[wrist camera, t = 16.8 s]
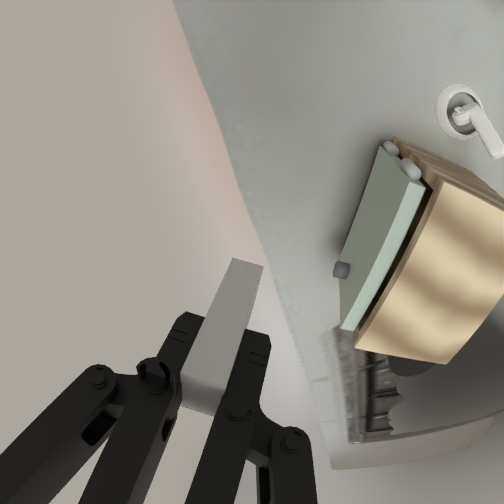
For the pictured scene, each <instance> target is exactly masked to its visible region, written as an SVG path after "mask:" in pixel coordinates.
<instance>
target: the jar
mask: <svg viewBox="0 0 504 504" xmlns="http://www.w3.org/2000/svg"><path fill="white" fill-rule="evenodd" d="M388 362H389V368H390V370H391V371H392V372H393V373H394V374H396V375H399V376H414V375H418V374H421V373H423V372H425V371H427V370H429V369H431V368H432V367H433V366H434V365H435V364H436V363H433V362H427V361H421V360H415V359H409V358H404V357H398V356H393V355H388Z"/></svg>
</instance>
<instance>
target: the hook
mask: <svg viewBox="0 0 504 504" xmlns="http://www.w3.org/2000/svg"><path fill="white" fill-rule="evenodd" d="M460 92H465V93H468V94H470V95H472V96H473V97H474V98H475V99H476V101H477V102H478V104H477V103H469V104H466V105H464V106H463V107H461V108H460V107H459V106H458V107H456V108H454V110H455V111H454V112H453V113H452V117H453V120H454V122H455V123H456V124H457V125H459V126H461V125H465V124H467V123H470V122H471V123H472V125H473V127H474V128H475V132H473V133H472V134H469V135H463V134H460V133H458V132H457V131H456V130H454V128H453V127H452V126H451V124H450V122H449V120H448V116H447V105H448V102H449V100H450V99H451V97H452V96H453V95H455V94H456V93H460ZM436 115H437V119H438V122H439V124H440V126H441V127H442V129H443V130H444V131H445V132H446V133H447V134H448V135H449V136H450V137H452V138H454V139H457V140H468V139H471V138H473V137H475V136H476V135H477V134H479V136H480V138H481V140H482V142H483V143H484V145H485V147H486V149H487V151H488V153H489V155H490V156H491V157H492V159H495V160H497V159H500V158H502V157H503V156H504V144H503V143H502V141H501V139H500V137H499V135H498V134H497V132H496V130H495V129H494V127H493V125H492V124H491V122H490V120H489V119H488V117H487V116H486V114H485V113H484V109H483V106H482V103H481V101H480V99H479V98H478V96H477V95H476V94H475V93H474V92H473V91H472V90H471V89H470V88H468V87H466V86H464V85H461V84H451V85H449V86H447V87H445V88H444V89H443V90H442V91H441V92H440V94H439V96H438V98H437V101H436Z"/></svg>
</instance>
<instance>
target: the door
mask: <svg viewBox="0 0 504 504" xmlns="http://www.w3.org/2000/svg"><path fill="white" fill-rule="evenodd" d="M398 154H399V149H398V148H397V147H396V146H395V145H394V144H393V143H392V142H391V141H385V142H384V144H383V147H382V146H379V149H378V152H377V156H376V159H375V162H374V165H373V168H372V171H371V174H370V177H369V180H368V183H367V186H366V188H365V191H364V194H363V197H362V200H361V203H360V205H359V208H358V211H357V214H356V216H355V219H354V222H353V224H352V227H351V229H350V232H349V235H348V237H347V240H346V242H345V245H344V247H343V250H342V252H341V255H340V257H339V260H338V261H337V262H336V264H335V267H334V271H333V277H337V278H339V285H340V328H341V329H346V330H350V331H354V330H355V328H356V327H357V325H358V323H359V322H360V320H361V318H362V317H363V315H364V313H365V312H366V310H367V308H368V306H369V305H370V303H371V301H372V299H373V298H374V296H375V294H376V292H377V290H378V288H379V287H380V285H381V283H382V281H383V279H384V277H385V275H386V273H387V272H388V270H389V268H390V266H391V264H392V262H393V260H394V258H395V256H396V254H397V252H398V250H399V248H400V246H401V243H402V241H403V239H404V237H405V235H406V233H407V231H408V228H409V226H410V224H411V222H412V220H413V217H414V215H415V213H416V210H417V208H418V206H419V203H420V201H421V199H422V196H423V194H424V191H425V189H426V188H425V187H424V185H423V184H422V183H421V182H420V181H419V180H418V179H420V177H421V171H420V169H419V168H418V167H417V166H416V165H415V164H414V163H413V162H412V161H411V160H410V159H408V158H404V159H402V160H400V159H399V157H398V156H397V155H398Z"/></svg>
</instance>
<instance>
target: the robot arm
mask: <svg viewBox="0 0 504 504" xmlns="http://www.w3.org/2000/svg"><path fill="white" fill-rule="evenodd" d="M262 270H263V266H260V265H257V264H253V263H250V262H246V261H242V260H238V259H235V258H232V261H231V263H230V265H229V267H228V269H227V272H226V274H225V276H224V278H223V280H222V282H221V284H220V287H219V289H218V291H217V293H216V295H215V297H214V299H213V302H212V304H211V306H210V309H209V311H208V313H207V315H206V317H202V316H199V315H196V314H193V313H190V312H185V313H183V314H182V315H181V316H180V317H178V318H177V319H176V321H175V323H174V325H173V326H172V329H171V330H170V332H169V334H168V336H167V338H166V340H165V341H164V343H163V345H162V347H161V349H160V351H159V353H158V354H157V356H156V357H152V358H146V359H144V360H142V361H140V363H139V364H138V365H137V366H136V368H137V372H138V374H137V375H125V374H117V373H114V372H113V371H112V370H111V368H109V367H107V366H105V365H100V364H97V365H92V366H90V367H89V368H87V369H86V370H85V371H84V372H83V373H82V374H81V375H80V376H79V377H78V378H76V379H75V381H73V382H72V383H71V384H70V385H69V386H68V387H67V388H66V389H65V390H64V391H63V392H62V393H61V394H60V395H59V396H58V397H57V398H56V399H55V400H54V401H53V402H52V403H51V404H50V405H49V406H48V407H47V408H46V409H45V410H44V411H43V412H42V413H41V414H40V415H39V416H38V417H37V418H36V419H35V420H34V421H33V422H32V423H31V424H30V425H29V426H28V427H27V428H26V429H25V430H24V431H23V432H22V433H21V434H20V435H19V436H18V437H17V438H16V439H15V440H14V441H13V442H12V443H11V444H10V445H9V446H8V447H7V449H6V450H5V451H4V452H3V453H2V454H1V455H0V504H49V503H50V502H51V500H52V499H53V498H54V497H55V496H56V495H57V494H58V493H59V492H60V490H61V489H62V488H63V487H64V486H65V485H66V484H67V483H68V482H69V481H70V479H71V478H72V477H73V476H74V475H75V474H76V473H77V472H78V471H79V469H80V468H81V467H82V466H83V465H84V464H85V463H86V462H87V461H88V459H89V458H90V457H91V456H92V455H93V454H94V453H95V451H96V450H97V449H98V448H99V447H100V446H101V445H102V444H103V443H104V442H105V440H106V439H107V438H108V437H109V436H110V437H109V439H108V441H107V443H106V445H105V447H104V449H103V451H102V453H101V455H100V457H99V460H98V462H97V464H96V466H95V468H94V470H93V472H92V475H91V477H90V479H89V481H88V483H87V485H86V488H85V490H84V492H83V494H82V496H81V498H80V501H79V503H78V504H143V502H144V500H145V497H146V495H147V492H148V489H149V487H150V484H151V482H152V480H153V477H154V475H155V472H156V469H157V467H158V465H159V462H160V459H161V457H162V454H163V452H164V450H165V447H166V444H167V442H168V440H169V437H170V435H171V432H172V430H173V427H174V425H175V422H176V419H177V412H178V409H179V407H180V404H181V406H183V407H186V408H189V409H191V410H195V411H198V412H201V413H204V414H207V415H210V416H214V420H213V423H212V426H211V429H210V432H209V435H208V438H207V441H206V444H205V447H204V449H203V453H202V455H201V458H200V461H199V464H198V467H197V470H196V473H195V476H194V478H193V482H192V484H191V487H190V490H189V493H188V496H187V498H186V501H185V504H234V500H235V497H236V493H237V490H238V486H239V482H240V479H241V476H242V472H243V468H244V464H245V460H246V459H247V460H248V461H250V462H252V463H254V464H255V465H256V478H257V479H256V480H257V504H318V503H317V494H316V485H315V475H314V467H313V460H312V459H313V458H312V450H311V442H310V439H309V437H308V435H307V434H306V433H305V432H304V431H303V430H301V429H299V428H297V427H291V426H289V427H282V426H280V425H278V424H277V423H275V422H273V421H271V420H270V419H268V418H267V417H266V416H265V415H264V413H263V412H262V410H261V408H260V404H259V400H260V394H261V390H262V386H263V382H264V377H265V373H266V368H267V364H268V360H269V355H270V350H271V342H270V338H269V336H268V335H266V334H263V333H259V332H255V331H252V330H248V329H246V328H247V325H248V322H249V319H250V315H251V312H252V309H253V305H254V301H255V298H256V294H257V290H258V286H259V282H260V278H261V275H262Z"/></svg>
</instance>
